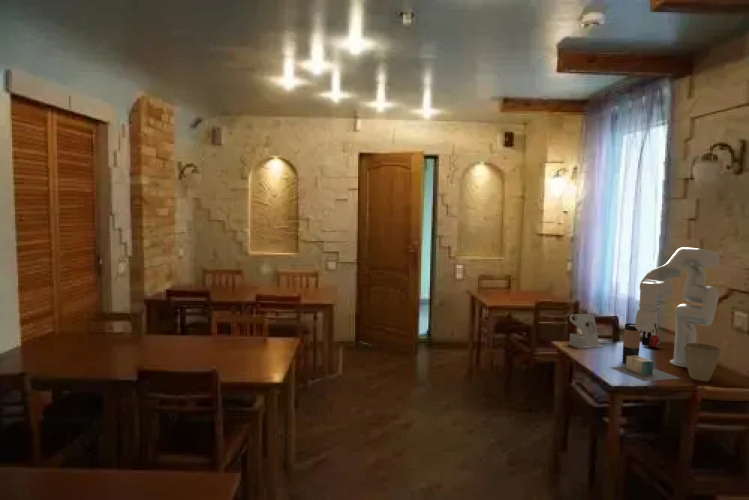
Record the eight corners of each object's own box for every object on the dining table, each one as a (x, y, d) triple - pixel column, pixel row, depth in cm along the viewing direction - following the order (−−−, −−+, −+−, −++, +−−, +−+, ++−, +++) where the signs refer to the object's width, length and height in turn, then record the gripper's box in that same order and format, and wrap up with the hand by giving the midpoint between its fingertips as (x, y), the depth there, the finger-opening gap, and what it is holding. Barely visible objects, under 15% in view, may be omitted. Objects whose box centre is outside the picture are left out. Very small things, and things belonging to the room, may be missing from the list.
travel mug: (638, 362, 291) (641, 324, 290) (638, 365, 285) (641, 327, 283) (622, 360, 295) (624, 322, 293) (621, 363, 288) (624, 325, 286)
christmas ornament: (639, 345, 330) (640, 329, 329) (649, 344, 333) (651, 328, 333) (652, 349, 322) (653, 332, 321) (662, 348, 326) (663, 331, 325)
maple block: (652, 373, 269) (635, 367, 279) (653, 361, 269) (636, 355, 279) (642, 374, 267) (625, 367, 278) (643, 361, 267) (626, 355, 277)
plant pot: (674, 375, 270) (676, 342, 268) (700, 374, 273) (702, 342, 272) (698, 385, 255) (701, 350, 254) (725, 384, 258) (728, 350, 257)
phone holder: (578, 348, 317) (580, 317, 315) (567, 344, 326) (569, 313, 325) (603, 347, 322) (605, 316, 321) (591, 343, 332) (593, 313, 331)
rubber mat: (645, 366, 284) (645, 365, 284) (680, 379, 263) (681, 378, 263) (609, 368, 277) (609, 367, 277) (643, 382, 256) (643, 381, 256)
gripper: (630, 305, 275) (628, 341, 276) (653, 311, 260) (651, 349, 262) (642, 304, 277) (640, 340, 279) (666, 310, 263) (664, 348, 264)
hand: (645, 345), depth 270 cm, fingers closed
